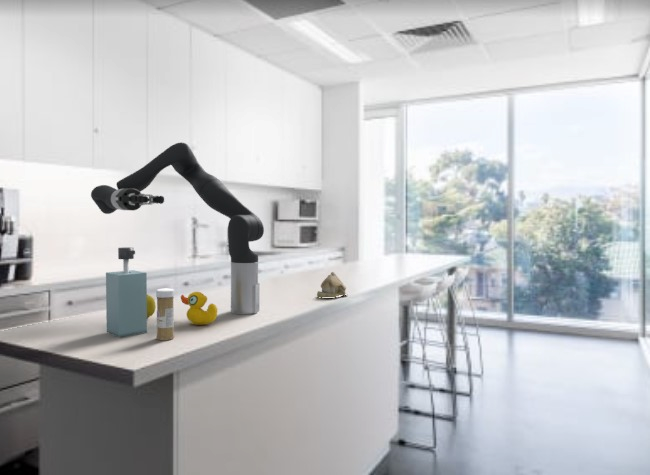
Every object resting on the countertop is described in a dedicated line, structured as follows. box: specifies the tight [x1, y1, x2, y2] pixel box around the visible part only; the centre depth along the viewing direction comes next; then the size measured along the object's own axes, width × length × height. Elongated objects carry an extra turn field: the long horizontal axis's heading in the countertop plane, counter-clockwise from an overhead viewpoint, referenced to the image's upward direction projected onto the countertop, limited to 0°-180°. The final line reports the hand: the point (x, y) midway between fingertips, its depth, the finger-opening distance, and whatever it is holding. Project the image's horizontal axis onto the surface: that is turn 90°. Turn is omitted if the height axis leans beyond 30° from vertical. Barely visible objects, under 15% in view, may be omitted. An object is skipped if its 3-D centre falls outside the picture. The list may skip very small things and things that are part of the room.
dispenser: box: [105, 269, 148, 338], centre depth 140 cm, size 8×8×17 cm
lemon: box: [147, 293, 157, 320], centre depth 157 cm, size 6×6×8 cm
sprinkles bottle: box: [155, 287, 175, 341], centre depth 134 cm, size 5×5×14 cm
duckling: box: [180, 291, 218, 326], centre depth 151 cm, size 11×5×10 cm, turn 82°
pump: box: [117, 247, 136, 273], centre depth 138 cm, size 6×4×14 cm, turn 46°
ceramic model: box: [316, 271, 347, 298], centre depth 203 cm, size 14×11×10 cm
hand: (150, 199), depth 160 cm, fingers open, 8 cm apart
